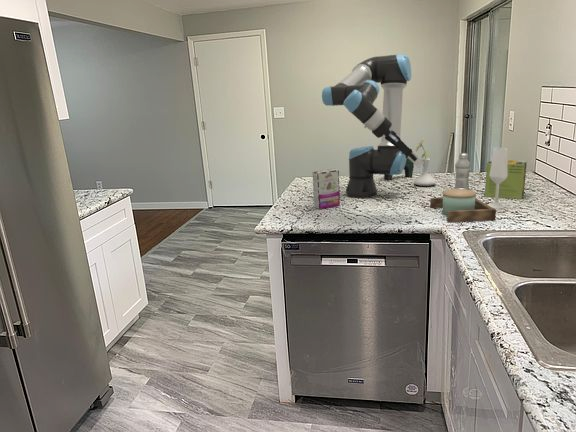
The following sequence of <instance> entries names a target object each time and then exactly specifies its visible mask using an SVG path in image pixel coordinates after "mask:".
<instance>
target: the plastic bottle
mask: <svg viewBox="0 0 576 432" xmlns="http://www.w3.org/2000/svg"><path fill="white" fill-rule="evenodd" d="M468 158H469V153H468V152H467V153H466V152H459V153H458V159H457V161H456V162H455V164H454V170H455V182H454V188H453V189H466V190H470V185H469V184H470V183H469V180H470V178H469V177H470V171H471V162H470V161H469V159H468Z"/></svg>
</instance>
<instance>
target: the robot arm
mask: <svg viewBox="0 0 576 432" xmlns="http://www.w3.org/2000/svg"><path fill="white" fill-rule="evenodd" d="M411 79H412V65H411V61H410V58H409V56H408V55H407V54H398V53H397V54H391V55H380V56H372V57H368V58H367V59H365V60H363V61H361V62H359V63H358V64H356V65H354V67H353V68H352V70H351V72H350V73H349V74H347V75H346V76H345V77H343V79H341V80H340V81H339V82H337V84H335V85H334V86H325V87H324V88H323V89H322V91H321V100H322V103H323V105H325V106H327V107H328V106H330V107H333V106H334V107H335V106H336V107H337V106H344V107H345V109H347V111H348V112H349V113H351V114H352V115H353V116H354V117H355V118H356V119H357V120H359V121H360V123H362V124H363V125H364V126H363V128H364V129H368V130H369V131H371V133H372V134H373V135H374V136H375V137H376V138H378V139H380V138H381V139H380V142H379V144H377V149H375V148H374V146H373V145H369V146H361V147H356V148H352V149H351V150H349V152H348V165H349V166H348V169H349V171H348V174H349V175H348V176H349V180H348V182H347V186H346V190H345V195H346V196H347V197H348V198H349V197H350V198H358V199H359V198H361V199H362V198H371V197H375V196H377V195H378V189H377V186H376V183H375V179H374V175H384V174H386V175H396V176H397V175H400V174H402V173H403V171H405V170H404V167H405V164H406V158H407V157H408V158H409V159H410V160H411V161H412V162H413V163H414V165H415V166H416V167H417V168H418V169H420V168H421V167H423V164H424V162H423V161H422V160H421V158H419V156H418V155H416V154H415V153H414V151H413V149H412V148H410V147H409V146H408V145H406V144H405V142H403V140H401V130H402V129H401V128H402V111H403V93H404V89H405V88H406V87H407V84H408V83H407V82H410V81H411ZM378 83H379V84H380V87H381V88H382V89H383V97H382V98H383V101H382V112H381V110H379V109H378V108H377V107H376V106H375V105H374V102H375V101H376V100H377V98H378V95H379V94H380V87H379V84H378Z"/></svg>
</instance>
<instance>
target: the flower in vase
mask: <svg viewBox="0 0 576 432" xmlns="http://www.w3.org/2000/svg"><path fill="white" fill-rule="evenodd" d="M424 140H425V138H424V137H422V138H421V140H420V142H419V143H418V146H416V149H415V150H414V151H415V152H418V151H419V149H420V148H421V147H422V149H423V153H422V155H421V158H420V160H422V161H423V162H424V164H423V165H422V173H421V174H420V175H419V176H417V177H416V178H415V179H414V180H413V183H414V185H417V186H422V187H428V186H434V185H436V183H437V179H435V178H434V177H433V176H432V175H430V174H429V172H428V169H429V163H430V161H431V158H427V157H428V156H429V153H428V152H427V151H425V148H424V146H423V142H424Z"/></svg>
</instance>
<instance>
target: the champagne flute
mask: <svg viewBox="0 0 576 432" xmlns="http://www.w3.org/2000/svg"><path fill="white" fill-rule="evenodd" d="M491 160H492V163H491V169H490V175H489V176H490V178H491V180H492V181H493V182H494V183H496V193H495V197H494V202H491V203H489V204H487V205H488V206H490V207H492V208H494V209H504V208H506V206H505V205H503V204H501V203H500V202H499V197H498V194H499V184H500V183H502V182H503V181H504V180H505V179H506V178H507V176H508V174H507V160H508V148H506V147H495V148H493V153H492V158H491Z"/></svg>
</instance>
